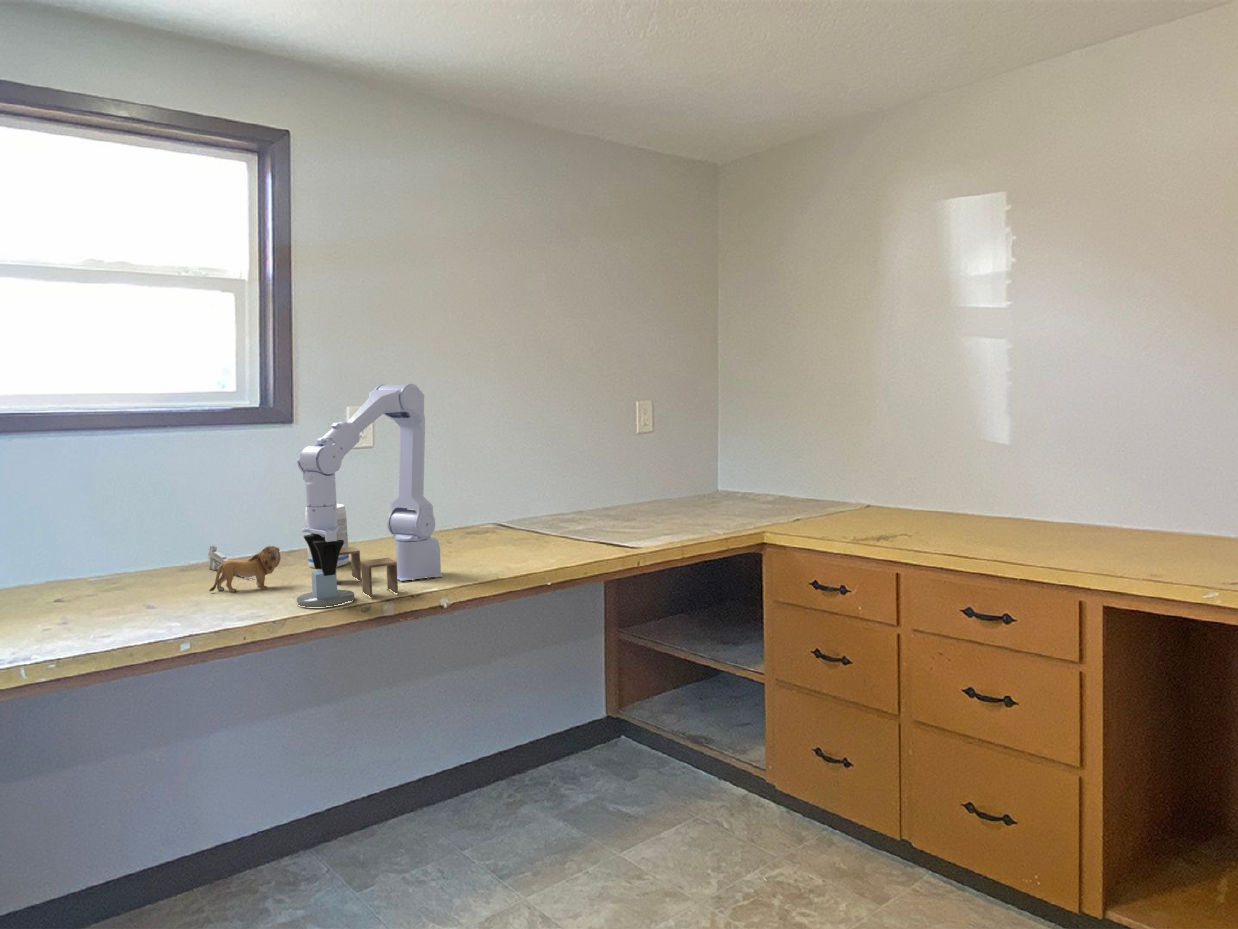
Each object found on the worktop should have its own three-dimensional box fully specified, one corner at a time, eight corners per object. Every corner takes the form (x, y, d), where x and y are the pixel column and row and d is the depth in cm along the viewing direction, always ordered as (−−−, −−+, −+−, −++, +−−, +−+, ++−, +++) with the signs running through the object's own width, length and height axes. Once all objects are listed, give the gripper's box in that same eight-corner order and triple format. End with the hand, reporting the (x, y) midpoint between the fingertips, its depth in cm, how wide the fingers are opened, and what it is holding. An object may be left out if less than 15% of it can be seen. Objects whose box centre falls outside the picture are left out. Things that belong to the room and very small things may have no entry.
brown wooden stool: (389, 590, 182) (388, 557, 181) (398, 595, 177) (396, 562, 176) (362, 593, 179) (361, 561, 178) (370, 599, 174) (368, 565, 173)
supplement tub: (344, 559, 216) (341, 502, 214) (353, 566, 207) (350, 506, 206) (304, 564, 211) (301, 505, 209) (311, 571, 202) (309, 510, 201)
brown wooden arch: (354, 576, 195) (353, 546, 195) (360, 581, 190) (359, 550, 190) (328, 580, 192) (326, 549, 192) (334, 584, 187) (333, 553, 187)
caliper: (208, 570, 206) (206, 545, 206) (213, 569, 207) (211, 544, 206) (250, 581, 193) (248, 554, 193) (255, 580, 194) (253, 553, 194)
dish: (346, 592, 180) (346, 587, 179) (360, 603, 170) (360, 597, 170) (292, 600, 174) (292, 594, 174) (303, 611, 164) (303, 605, 164)
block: (312, 595, 173) (311, 571, 172) (332, 592, 175) (331, 568, 174) (316, 599, 169) (315, 574, 169) (337, 596, 171) (336, 572, 171)
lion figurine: (279, 582, 191) (277, 543, 190) (284, 587, 186) (282, 546, 185) (207, 591, 183) (205, 550, 182) (210, 596, 178) (208, 554, 178)
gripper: (293, 502, 174) (297, 568, 176) (308, 511, 162) (312, 581, 163) (328, 500, 178) (332, 563, 179) (346, 507, 166) (349, 576, 167)
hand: (325, 571), depth 172 cm, fingers open, 7 cm apart
